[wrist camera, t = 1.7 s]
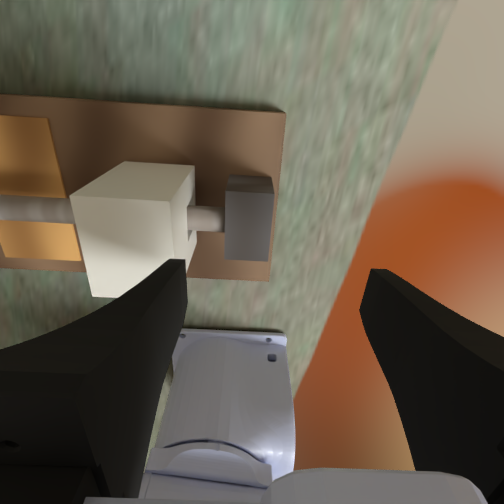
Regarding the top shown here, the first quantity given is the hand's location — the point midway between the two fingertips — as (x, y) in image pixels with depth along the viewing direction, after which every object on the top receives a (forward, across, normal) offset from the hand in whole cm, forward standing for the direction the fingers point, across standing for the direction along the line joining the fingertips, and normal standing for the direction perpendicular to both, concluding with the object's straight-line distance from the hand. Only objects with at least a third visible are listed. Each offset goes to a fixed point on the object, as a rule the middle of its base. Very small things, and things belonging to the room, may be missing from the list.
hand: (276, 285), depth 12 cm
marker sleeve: (+8, +6, 0) cm, 10 cm away
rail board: (+9, +10, 0) cm, 14 cm away
